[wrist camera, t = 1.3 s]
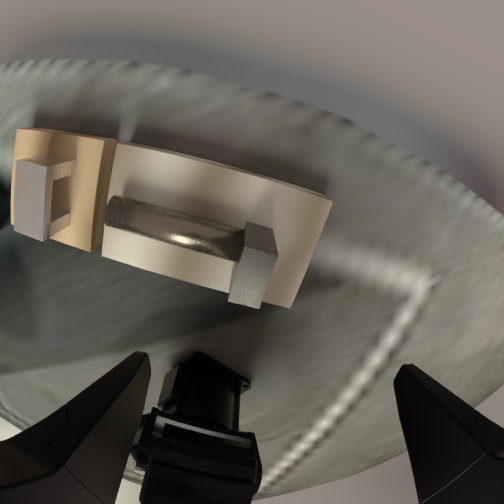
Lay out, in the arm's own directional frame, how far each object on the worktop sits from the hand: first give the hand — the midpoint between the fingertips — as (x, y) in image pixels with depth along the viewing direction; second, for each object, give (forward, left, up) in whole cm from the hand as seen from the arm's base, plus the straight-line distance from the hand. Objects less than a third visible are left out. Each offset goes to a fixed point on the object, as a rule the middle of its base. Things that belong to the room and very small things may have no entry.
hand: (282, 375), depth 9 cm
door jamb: (+8, +4, -12) cm, 15 cm away
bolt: (+5, +2, -10) cm, 11 cm away
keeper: (+14, +6, -10) cm, 19 cm away
